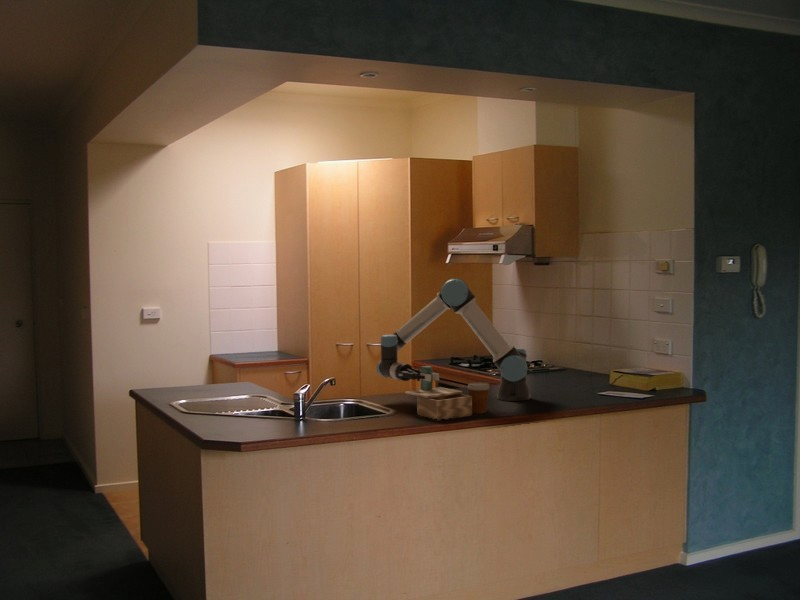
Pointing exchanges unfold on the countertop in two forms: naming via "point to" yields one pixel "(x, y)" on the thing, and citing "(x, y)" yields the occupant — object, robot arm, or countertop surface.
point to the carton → (445, 406)
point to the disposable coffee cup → (478, 396)
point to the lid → (427, 387)
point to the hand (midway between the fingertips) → (434, 377)
